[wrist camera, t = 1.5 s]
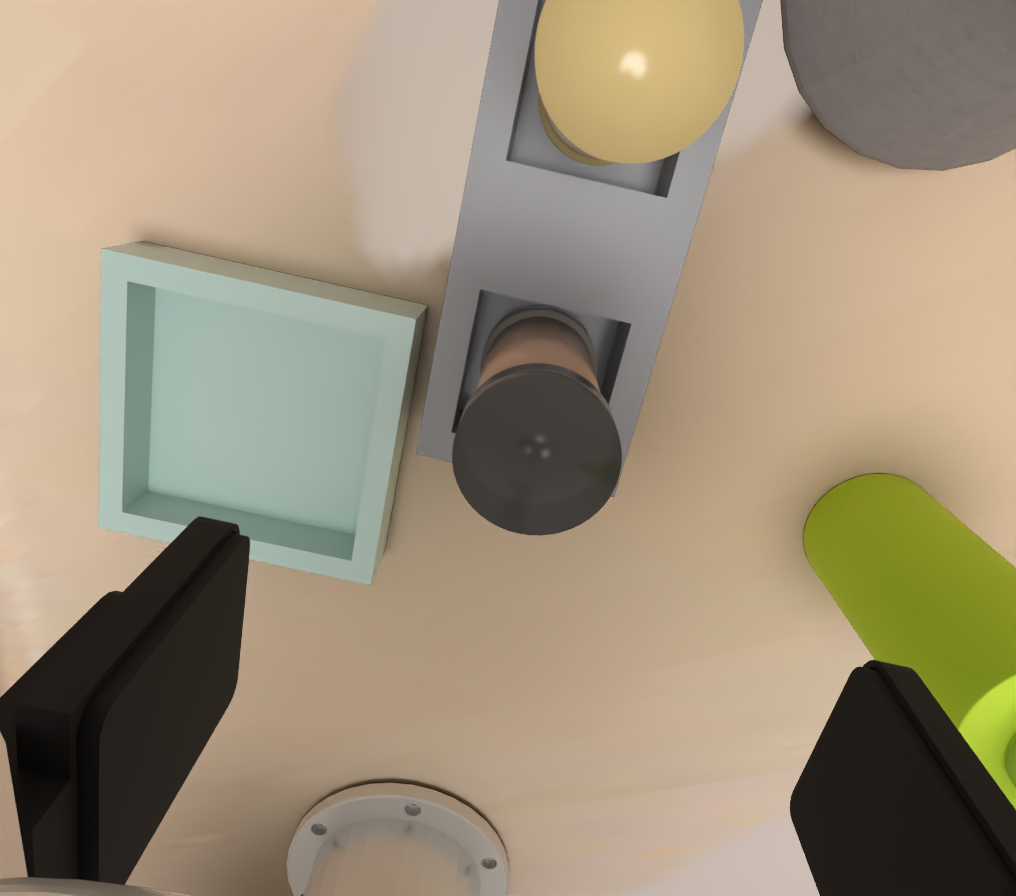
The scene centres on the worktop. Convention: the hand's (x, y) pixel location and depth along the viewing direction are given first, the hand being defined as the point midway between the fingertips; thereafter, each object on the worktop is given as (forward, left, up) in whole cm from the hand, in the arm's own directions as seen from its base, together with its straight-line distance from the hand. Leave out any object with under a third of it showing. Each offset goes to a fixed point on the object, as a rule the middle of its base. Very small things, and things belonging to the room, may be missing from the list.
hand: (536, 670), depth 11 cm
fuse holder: (+5, 0, -21) cm, 22 cm away
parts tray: (-5, +11, -21) cm, 24 cm away
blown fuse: (0, 0, -20) cm, 20 cm away
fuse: (+10, 0, -20) cm, 22 cm away
